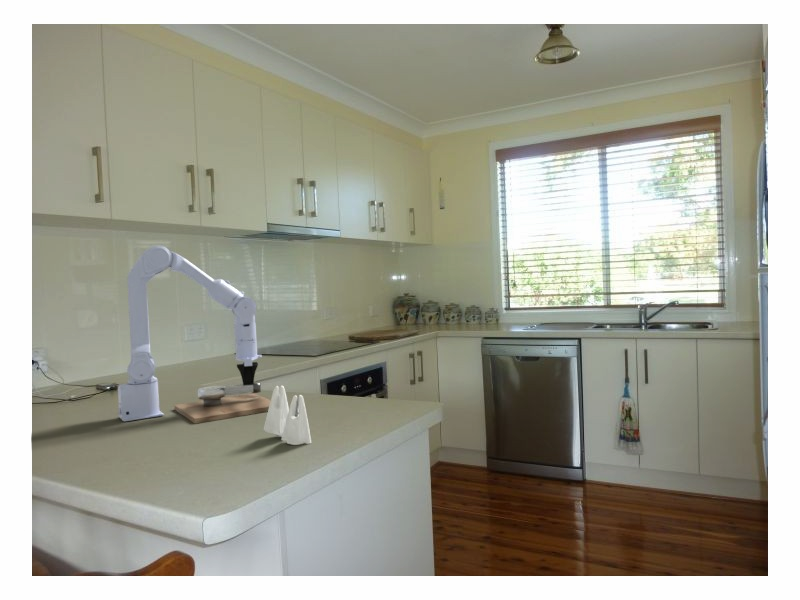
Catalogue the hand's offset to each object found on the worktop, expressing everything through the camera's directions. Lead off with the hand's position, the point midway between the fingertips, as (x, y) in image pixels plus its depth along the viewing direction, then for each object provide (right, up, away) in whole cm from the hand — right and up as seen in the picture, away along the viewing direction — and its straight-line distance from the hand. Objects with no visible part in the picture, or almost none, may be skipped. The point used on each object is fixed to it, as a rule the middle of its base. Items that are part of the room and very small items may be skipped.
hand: (248, 389), depth 156 cm
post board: (-4, -4, -6) cm, 9 cm away
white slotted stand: (+19, -4, -40) cm, 45 cm away
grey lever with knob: (-4, -1, -4) cm, 6 cm away
